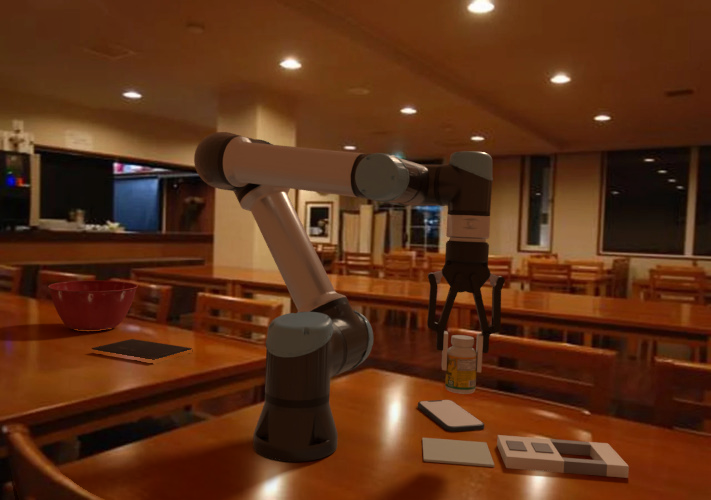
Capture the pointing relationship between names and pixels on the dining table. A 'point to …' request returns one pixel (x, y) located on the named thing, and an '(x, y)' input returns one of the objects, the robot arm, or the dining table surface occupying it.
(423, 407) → the phone case
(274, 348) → the robot arm
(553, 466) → the white fixture tray
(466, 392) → the supplement bottle
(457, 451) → the rubber mat
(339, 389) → the dining table surface
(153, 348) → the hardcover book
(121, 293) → the mixing bowl
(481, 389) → the dining table surface
